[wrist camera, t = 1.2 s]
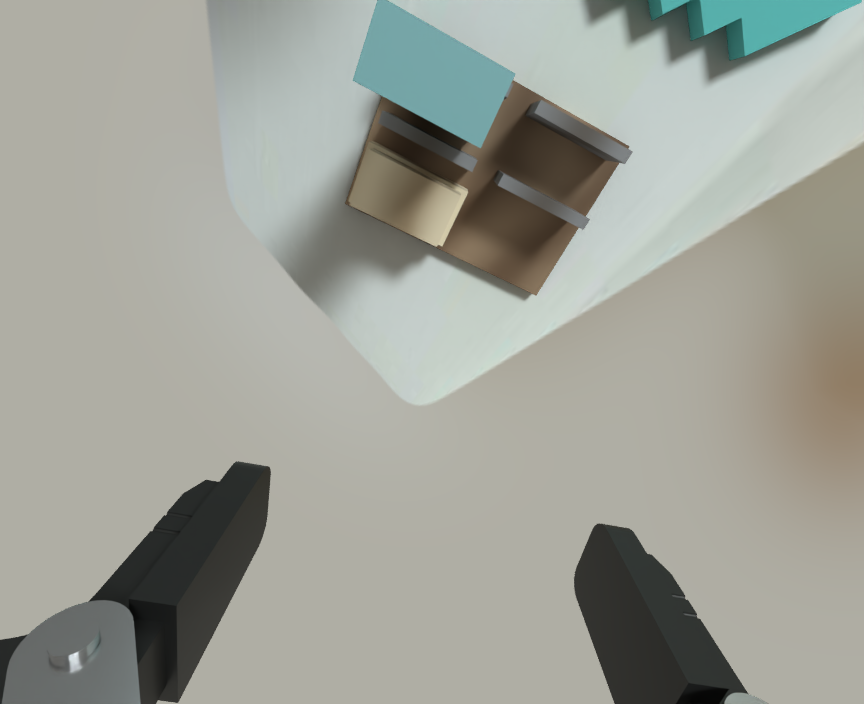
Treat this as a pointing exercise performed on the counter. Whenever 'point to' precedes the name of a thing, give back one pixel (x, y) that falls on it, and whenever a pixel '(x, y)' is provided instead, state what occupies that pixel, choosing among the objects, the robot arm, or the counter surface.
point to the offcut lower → (424, 170)
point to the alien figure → (751, 19)
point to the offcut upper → (404, 197)
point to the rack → (510, 180)
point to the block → (431, 73)
